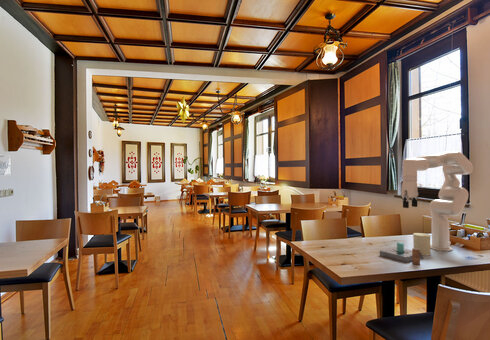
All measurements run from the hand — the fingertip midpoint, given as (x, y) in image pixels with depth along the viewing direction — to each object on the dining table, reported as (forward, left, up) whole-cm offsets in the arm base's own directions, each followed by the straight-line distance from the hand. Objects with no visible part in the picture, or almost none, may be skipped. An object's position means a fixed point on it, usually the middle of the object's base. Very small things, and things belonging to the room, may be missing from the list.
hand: (410, 207), depth 176 cm
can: (-7, +3, -28) cm, 30 cm away
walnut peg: (+17, +12, -28) cm, 35 cm away
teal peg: (+11, 0, -28) cm, 30 cm away
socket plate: (+11, 0, -28) cm, 30 cm away
